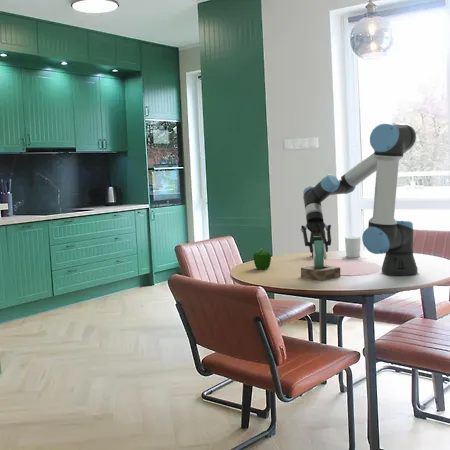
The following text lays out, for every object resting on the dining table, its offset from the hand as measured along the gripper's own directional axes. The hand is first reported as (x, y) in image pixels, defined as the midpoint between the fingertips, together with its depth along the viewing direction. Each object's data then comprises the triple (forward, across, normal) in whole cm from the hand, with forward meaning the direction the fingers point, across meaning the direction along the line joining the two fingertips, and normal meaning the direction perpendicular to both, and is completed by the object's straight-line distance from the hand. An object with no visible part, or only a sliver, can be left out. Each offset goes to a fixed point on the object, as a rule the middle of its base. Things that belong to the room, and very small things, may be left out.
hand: (320, 257), depth 252 cm
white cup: (-31, -24, -44) cm, 59 cm away
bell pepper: (-13, +24, -26) cm, 38 cm away
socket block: (+4, 0, -9) cm, 10 cm away
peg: (+1, 0, -6) cm, 6 cm away
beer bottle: (-35, -8, -49) cm, 61 cm away
